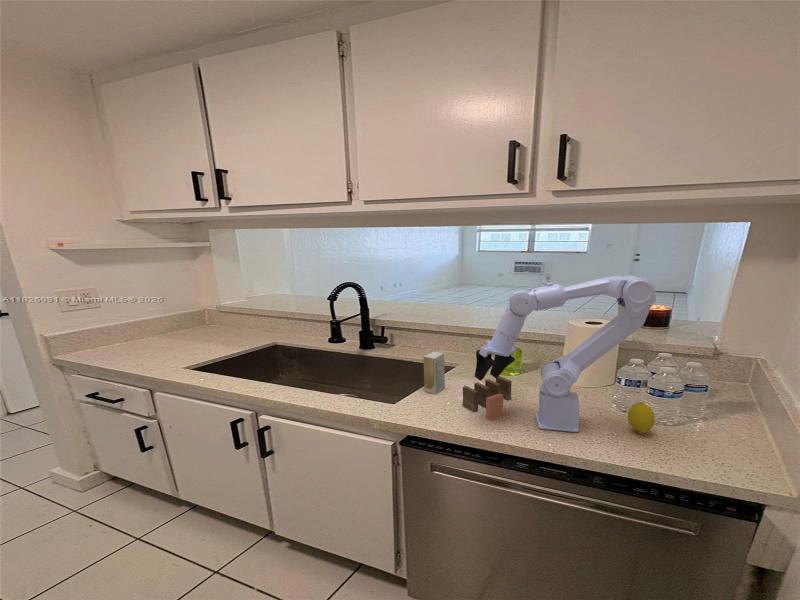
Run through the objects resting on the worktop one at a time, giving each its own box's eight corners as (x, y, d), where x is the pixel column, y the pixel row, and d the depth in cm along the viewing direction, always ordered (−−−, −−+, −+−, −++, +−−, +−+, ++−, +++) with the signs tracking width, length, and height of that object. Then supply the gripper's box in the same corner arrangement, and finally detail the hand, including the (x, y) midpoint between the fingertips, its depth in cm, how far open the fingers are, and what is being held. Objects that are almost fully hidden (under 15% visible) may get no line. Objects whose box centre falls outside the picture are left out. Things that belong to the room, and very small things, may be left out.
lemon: (621, 427, 93) (623, 398, 92) (642, 426, 93) (644, 397, 92) (637, 439, 88) (639, 408, 86) (658, 437, 88) (661, 406, 87)
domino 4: (502, 415, 102) (503, 394, 101) (489, 420, 99) (489, 399, 98) (499, 413, 103) (499, 393, 102) (486, 418, 100) (486, 397, 99)
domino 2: (477, 401, 111) (477, 382, 110) (489, 407, 107) (489, 387, 106) (474, 402, 110) (474, 383, 109) (485, 408, 106) (486, 389, 105)
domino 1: (466, 404, 109) (466, 385, 108) (477, 411, 104) (478, 391, 103) (462, 406, 108) (462, 386, 107) (474, 412, 104) (474, 392, 103)
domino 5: (498, 394, 115) (499, 375, 114) (511, 399, 111) (511, 380, 110) (495, 395, 115) (495, 376, 114) (507, 400, 110) (508, 382, 109)
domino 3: (488, 397, 113) (488, 379, 112) (500, 403, 109) (500, 384, 108) (485, 398, 112) (485, 380, 111) (497, 404, 108) (497, 385, 107)
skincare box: (434, 385, 124) (434, 350, 122) (445, 388, 121) (445, 352, 119) (423, 391, 119) (422, 355, 117) (434, 394, 116) (433, 358, 114)
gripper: (508, 326, 104) (489, 367, 107) (479, 325, 94) (459, 370, 97) (529, 339, 99) (508, 381, 103) (501, 339, 89) (479, 386, 92)
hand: (485, 377), depth 100 cm, fingers open, 7 cm apart
